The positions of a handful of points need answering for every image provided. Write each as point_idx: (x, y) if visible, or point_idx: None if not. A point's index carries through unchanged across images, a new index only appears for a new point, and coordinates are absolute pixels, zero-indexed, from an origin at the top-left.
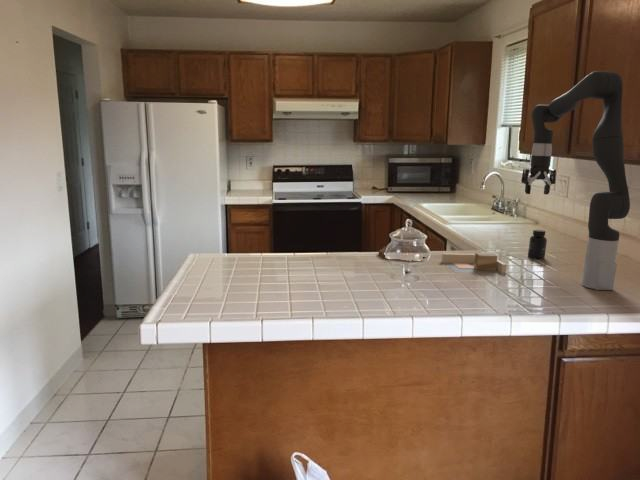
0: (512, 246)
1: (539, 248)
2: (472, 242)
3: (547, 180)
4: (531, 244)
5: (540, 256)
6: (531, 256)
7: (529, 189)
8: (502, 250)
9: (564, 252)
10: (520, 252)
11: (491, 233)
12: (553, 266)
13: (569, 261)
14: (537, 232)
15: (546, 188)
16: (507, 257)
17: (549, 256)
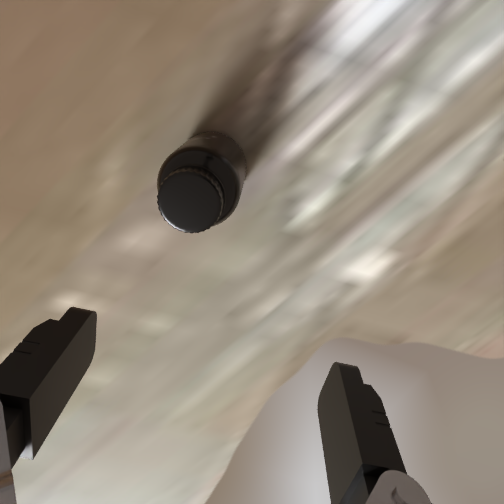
0: (155, 338)
1: (225, 145)
2: (256, 414)
3: (6, 490)
4: (242, 184)
5: (220, 135)
6: (245, 163)
7: (365, 408)
8: (246, 302)
9: (6, 206)
10: (200, 259)
11: (86, 482)
12: (264, 5)
13: (105, 63)
14: (219, 187)
15: (56, 381)
16: (325, 210)
17: (129, 170)
